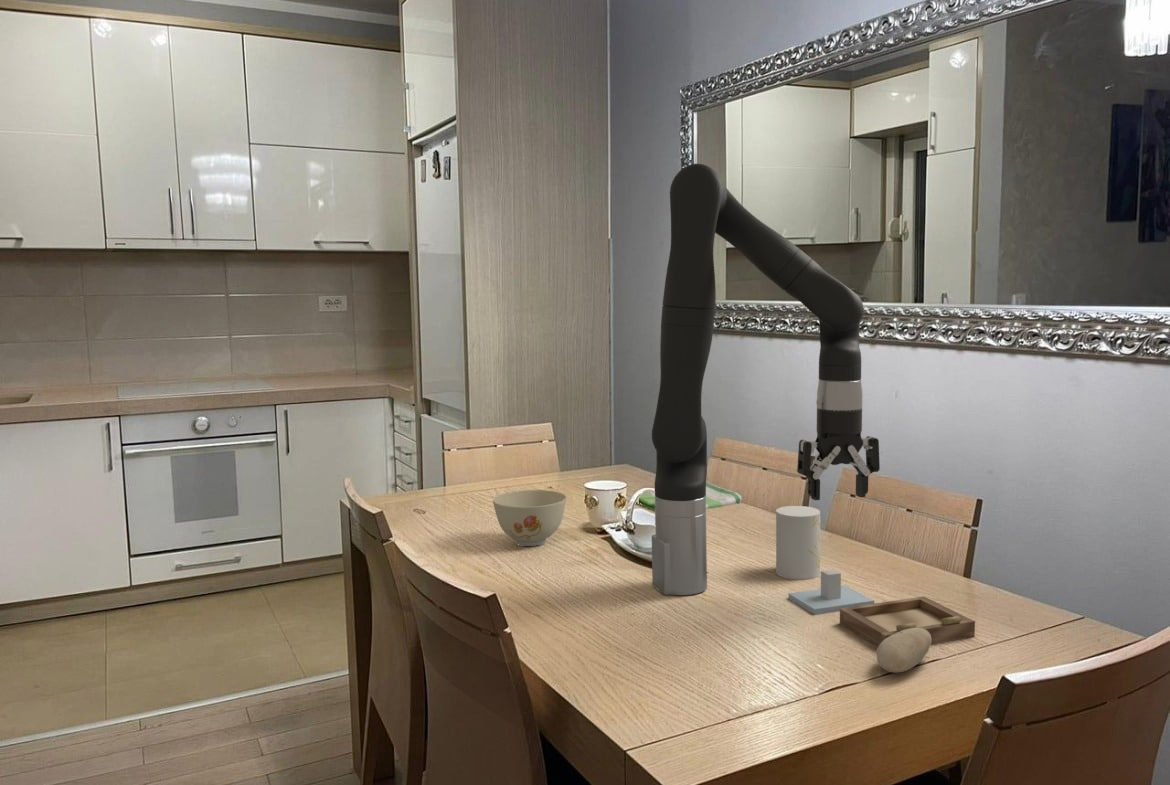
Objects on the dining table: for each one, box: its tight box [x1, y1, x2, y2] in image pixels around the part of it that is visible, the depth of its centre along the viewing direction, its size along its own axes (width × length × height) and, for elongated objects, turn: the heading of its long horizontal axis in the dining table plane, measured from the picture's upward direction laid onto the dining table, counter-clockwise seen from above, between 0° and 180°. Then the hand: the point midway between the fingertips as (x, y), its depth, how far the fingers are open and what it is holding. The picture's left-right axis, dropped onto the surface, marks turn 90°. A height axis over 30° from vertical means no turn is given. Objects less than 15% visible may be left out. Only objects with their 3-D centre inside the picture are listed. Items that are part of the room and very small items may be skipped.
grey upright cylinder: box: [775, 505, 821, 581], centre depth 168 cm, size 8×8×12 cm
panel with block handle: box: [787, 568, 875, 616], centre depth 153 cm, size 12×8×6 cm
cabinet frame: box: [839, 595, 976, 648], centre depth 140 cm, size 16×12×3 cm
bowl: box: [492, 489, 567, 547], centre depth 193 cm, size 16×16×10 cm
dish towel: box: [638, 480, 743, 511], centre depth 227 cm, size 17×23×4 cm
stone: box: [876, 628, 932, 674], centre depth 127 cm, size 6×6×12 cm
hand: (838, 497), depth 154 cm, fingers open, 8 cm apart
